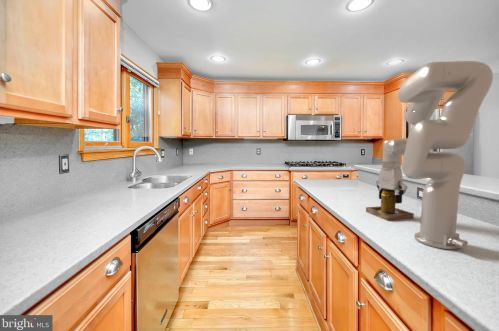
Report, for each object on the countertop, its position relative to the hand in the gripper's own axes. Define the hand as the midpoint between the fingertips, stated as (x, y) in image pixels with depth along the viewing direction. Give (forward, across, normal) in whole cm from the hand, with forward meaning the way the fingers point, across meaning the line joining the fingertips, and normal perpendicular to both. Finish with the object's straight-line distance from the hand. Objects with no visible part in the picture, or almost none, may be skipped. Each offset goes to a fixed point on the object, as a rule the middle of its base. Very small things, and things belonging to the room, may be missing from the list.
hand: (389, 200), depth 110 cm
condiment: (+6, 0, 0) cm, 6 cm away
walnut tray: (+7, -1, 0) cm, 7 cm away
